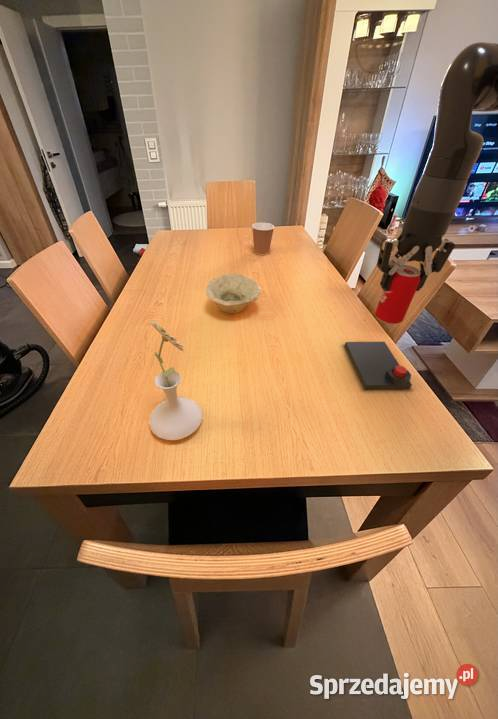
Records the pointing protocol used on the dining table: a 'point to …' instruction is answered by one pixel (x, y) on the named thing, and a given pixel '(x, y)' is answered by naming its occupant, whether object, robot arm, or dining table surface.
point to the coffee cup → (262, 237)
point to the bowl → (233, 292)
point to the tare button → (399, 371)
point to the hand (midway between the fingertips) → (399, 289)
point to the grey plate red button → (376, 366)
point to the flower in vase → (172, 401)
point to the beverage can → (398, 295)
